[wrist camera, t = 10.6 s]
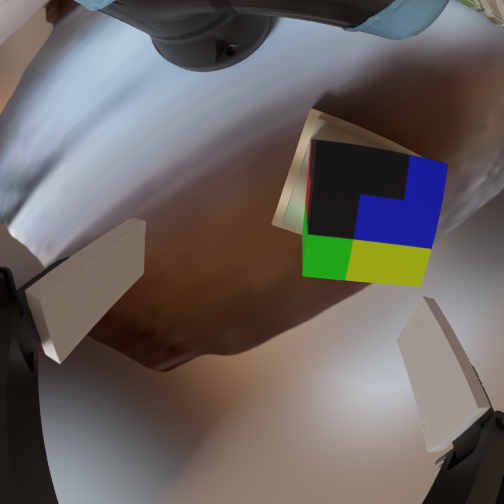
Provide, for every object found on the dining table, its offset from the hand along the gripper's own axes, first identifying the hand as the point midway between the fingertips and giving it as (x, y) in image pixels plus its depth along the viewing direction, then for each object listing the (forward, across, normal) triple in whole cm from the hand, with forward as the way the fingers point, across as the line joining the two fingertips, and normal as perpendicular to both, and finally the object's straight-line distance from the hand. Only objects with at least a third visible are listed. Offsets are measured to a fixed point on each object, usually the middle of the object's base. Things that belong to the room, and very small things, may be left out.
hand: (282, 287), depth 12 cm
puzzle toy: (+19, +6, +2) cm, 20 cm away
